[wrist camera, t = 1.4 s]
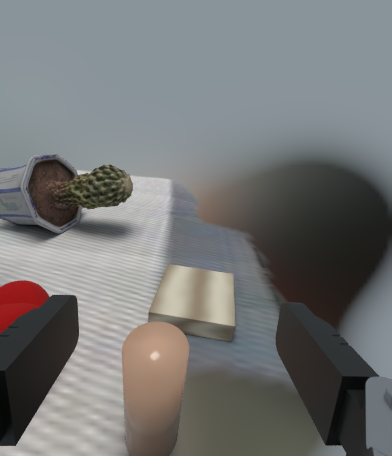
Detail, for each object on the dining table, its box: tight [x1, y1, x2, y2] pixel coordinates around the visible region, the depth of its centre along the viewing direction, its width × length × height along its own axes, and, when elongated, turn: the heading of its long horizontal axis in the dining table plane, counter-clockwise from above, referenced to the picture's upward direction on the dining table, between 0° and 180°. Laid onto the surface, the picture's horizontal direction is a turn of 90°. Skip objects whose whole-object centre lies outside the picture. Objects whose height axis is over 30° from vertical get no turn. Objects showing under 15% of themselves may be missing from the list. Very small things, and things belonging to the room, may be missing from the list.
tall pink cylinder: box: [122, 322, 189, 456], centre depth 21 cm, size 5×5×12 cm
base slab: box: [148, 264, 235, 342], centre depth 39 cm, size 12×12×3 cm
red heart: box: [0, 281, 50, 333], centre depth 26 cm, size 9×7×10 cm
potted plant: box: [0, 153, 133, 234], centre depth 55 cm, size 18×18×30 cm
